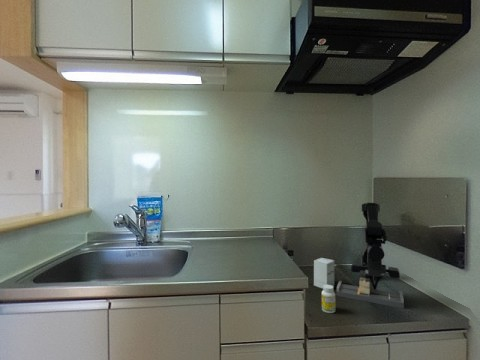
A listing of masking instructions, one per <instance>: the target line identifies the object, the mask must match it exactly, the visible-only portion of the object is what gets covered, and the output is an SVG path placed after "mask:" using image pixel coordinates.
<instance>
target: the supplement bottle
mask: <svg viewBox="0 0 480 360" xmlns="http://www.w3.org/2000/svg"><path fill="white" fill-rule="evenodd" d="M334 287H335V286H332V285H323V288H322V291H321V310H322V312H324V313H326V314H327V313H328V314H333V313H335V312H336V292H335V291H334Z"/></svg>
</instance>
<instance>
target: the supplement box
mask: <svg viewBox="0 0 480 360" xmlns="http://www.w3.org/2000/svg"><path fill="white" fill-rule="evenodd" d="M323 285H332V286H333V287H335V260H333V259H329V258H323V257H320V258H317V259H315V260H313V286H315V287H317V288H319V289H323Z"/></svg>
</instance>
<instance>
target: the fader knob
mask: <svg viewBox="0 0 480 360" xmlns="http://www.w3.org/2000/svg"><path fill="white" fill-rule="evenodd" d="M358 284H359V286H358V287H359V293H365V294H370V289H371V280H370V279H366V278H363V277H359V283H358Z"/></svg>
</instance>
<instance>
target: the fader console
mask: <svg viewBox="0 0 480 360" xmlns="http://www.w3.org/2000/svg"><path fill="white" fill-rule="evenodd" d="M336 296H337V297H341V298H346V299H352V300H355V301H356V300H357V301H363V302H367V303H373V304H378V305H383V306H387V307H393V308H399V309H405V305H404V304H405V302H404V294H403V290H399V291H398V293H397V292H394V291H393V292H392V291H388V290H387V291H386V290H381V289H376V290H375V289H373V288H370V294H365V293H359V286H358V285H351V284H346V283H345V284H344V283H342V280H338V283H337V285H336V292H335V297H336Z"/></svg>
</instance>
